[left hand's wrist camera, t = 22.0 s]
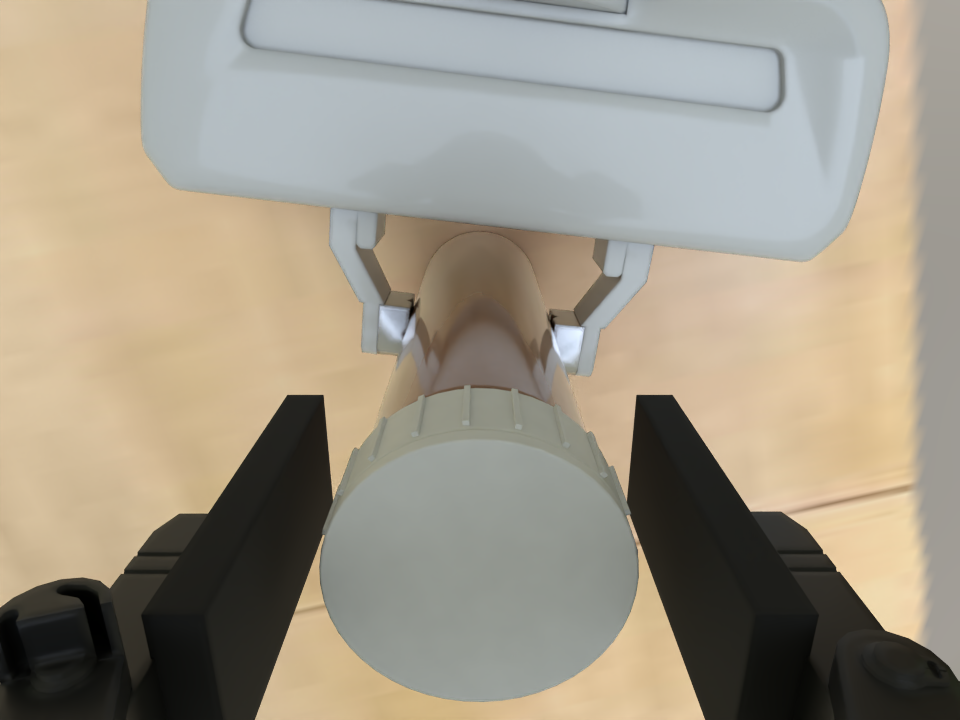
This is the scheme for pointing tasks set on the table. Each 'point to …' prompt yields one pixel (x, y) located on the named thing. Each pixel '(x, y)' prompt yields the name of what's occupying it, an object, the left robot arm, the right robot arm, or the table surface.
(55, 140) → the table surface
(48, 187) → the table surface
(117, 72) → the table surface
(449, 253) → the jar
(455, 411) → the lid
